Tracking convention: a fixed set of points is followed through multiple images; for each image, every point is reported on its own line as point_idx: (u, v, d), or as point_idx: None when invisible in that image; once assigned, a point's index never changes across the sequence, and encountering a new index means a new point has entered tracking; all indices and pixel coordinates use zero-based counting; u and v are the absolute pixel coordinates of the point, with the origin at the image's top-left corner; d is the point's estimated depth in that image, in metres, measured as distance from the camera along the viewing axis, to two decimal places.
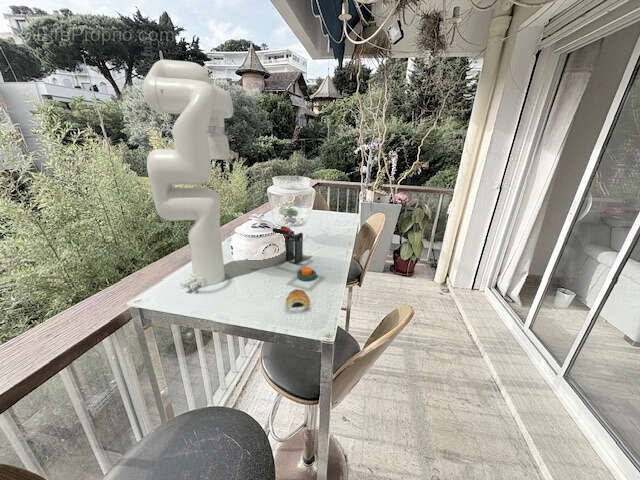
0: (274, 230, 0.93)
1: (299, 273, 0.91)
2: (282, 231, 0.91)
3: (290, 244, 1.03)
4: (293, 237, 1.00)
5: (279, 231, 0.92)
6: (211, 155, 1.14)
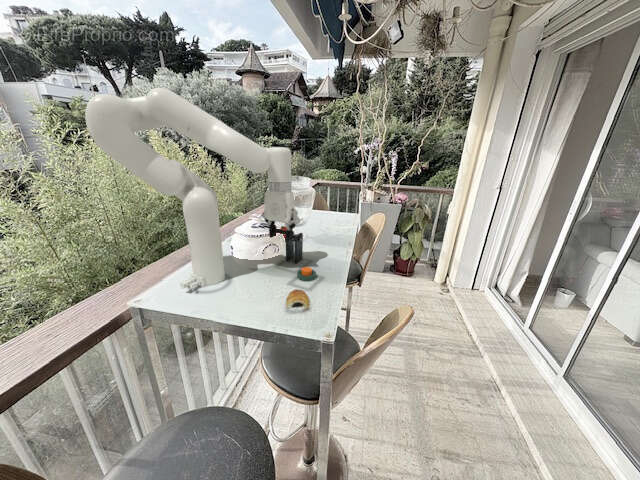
0: (274, 230, 0.93)
1: (299, 273, 0.91)
2: (282, 231, 0.91)
3: (290, 244, 1.03)
4: (293, 237, 1.00)
5: (279, 231, 0.92)
6: (269, 216, 0.89)
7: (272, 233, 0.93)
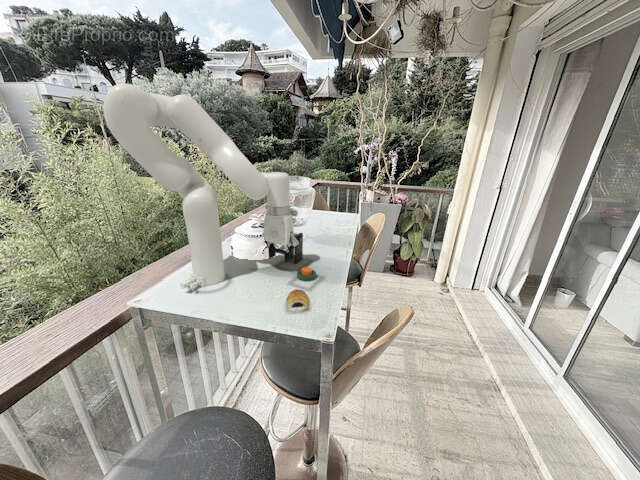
0: (273, 251, 0.94)
1: (299, 273, 0.91)
2: (280, 252, 0.93)
3: None
4: None
5: (278, 252, 0.93)
6: (269, 238, 0.91)
7: (271, 254, 0.95)
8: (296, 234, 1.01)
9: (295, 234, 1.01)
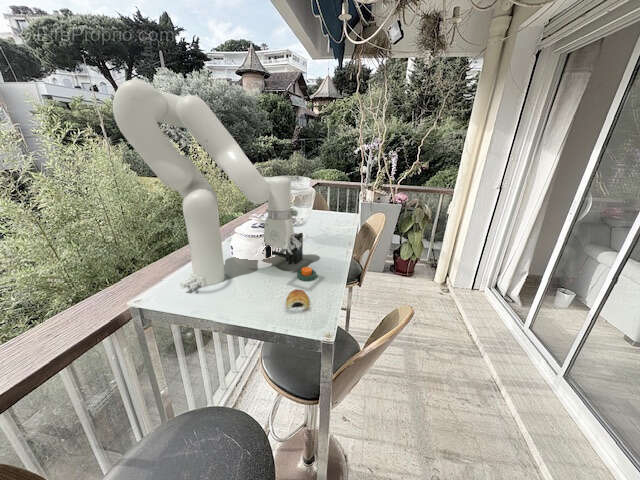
0: (274, 254, 0.95)
1: (299, 273, 0.91)
2: (281, 256, 0.94)
3: None
4: None
5: (278, 255, 0.94)
6: (269, 241, 0.92)
7: (268, 254, 0.96)
8: (296, 234, 1.01)
9: (295, 234, 1.01)
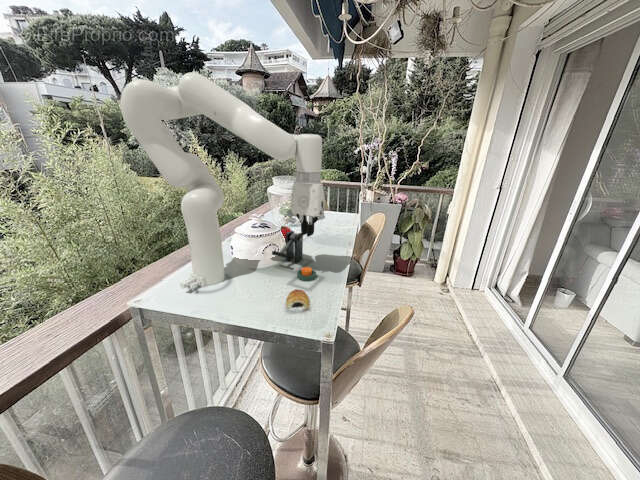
0: (274, 254, 0.95)
1: (299, 273, 0.91)
2: (281, 256, 0.94)
3: None
4: (293, 240, 1.00)
5: (278, 255, 0.94)
6: (297, 209, 0.82)
7: (304, 230, 0.86)
8: (296, 234, 1.01)
9: (295, 234, 1.01)
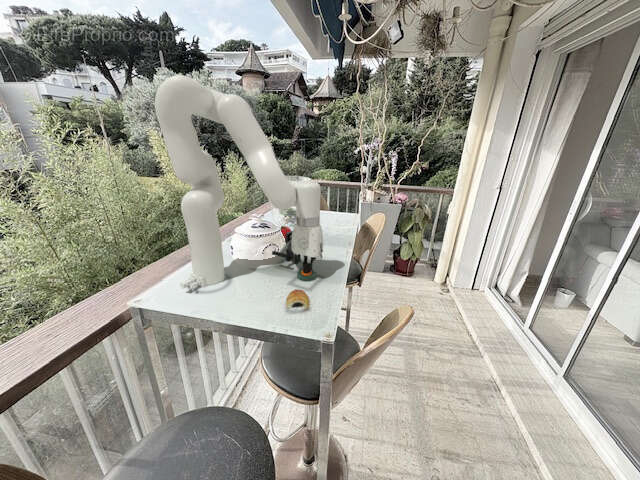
0: (274, 254, 0.95)
1: (299, 273, 0.91)
2: (281, 256, 0.94)
3: None
4: None
5: (278, 255, 0.94)
6: (297, 249, 0.87)
7: None
8: None
9: None
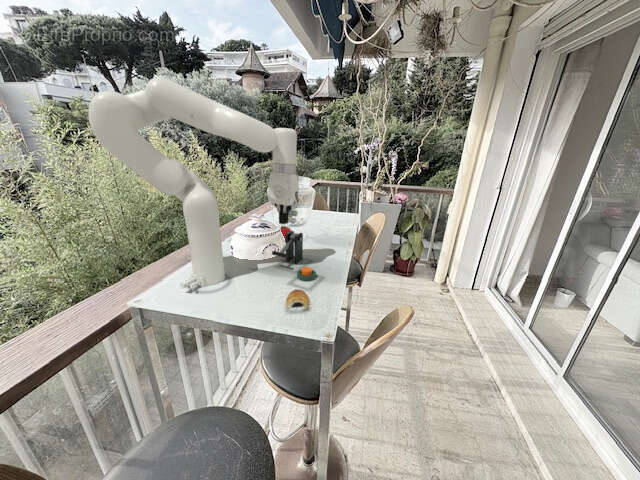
0: (274, 254, 0.95)
1: (299, 273, 0.91)
2: (281, 256, 0.94)
3: None
4: (293, 240, 1.00)
5: (278, 255, 0.94)
6: (273, 198, 0.88)
7: None
8: (296, 234, 1.01)
9: (295, 234, 1.01)
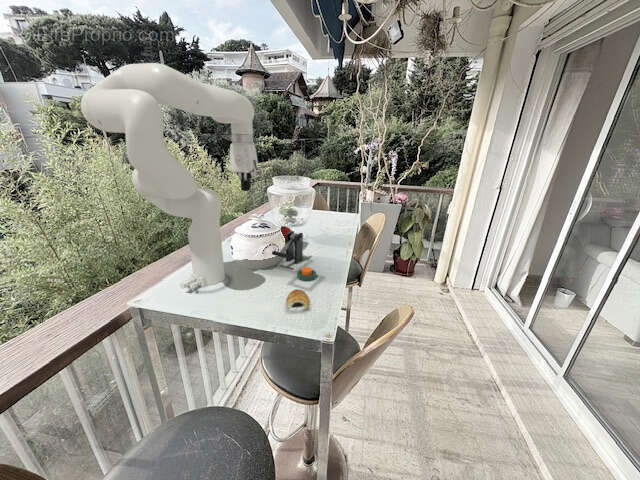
0: (274, 254, 0.95)
1: (299, 273, 0.91)
2: (281, 256, 0.94)
3: None
4: (293, 240, 1.00)
5: (278, 255, 0.94)
6: (234, 167, 0.98)
7: None
8: (296, 234, 1.01)
9: (295, 234, 1.01)
